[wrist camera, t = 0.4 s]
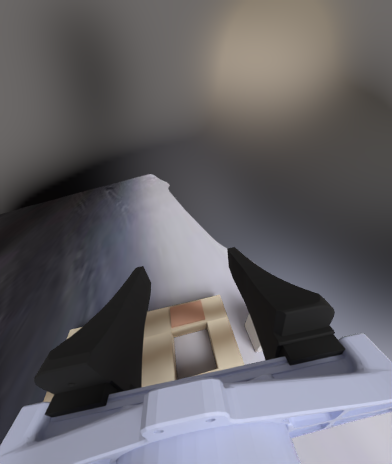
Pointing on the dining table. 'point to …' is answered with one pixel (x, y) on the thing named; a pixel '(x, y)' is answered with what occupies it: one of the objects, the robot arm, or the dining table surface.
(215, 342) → the socket block
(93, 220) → the dining table surface
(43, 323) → the dining table surface
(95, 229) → the dining table surface
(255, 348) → the plug
